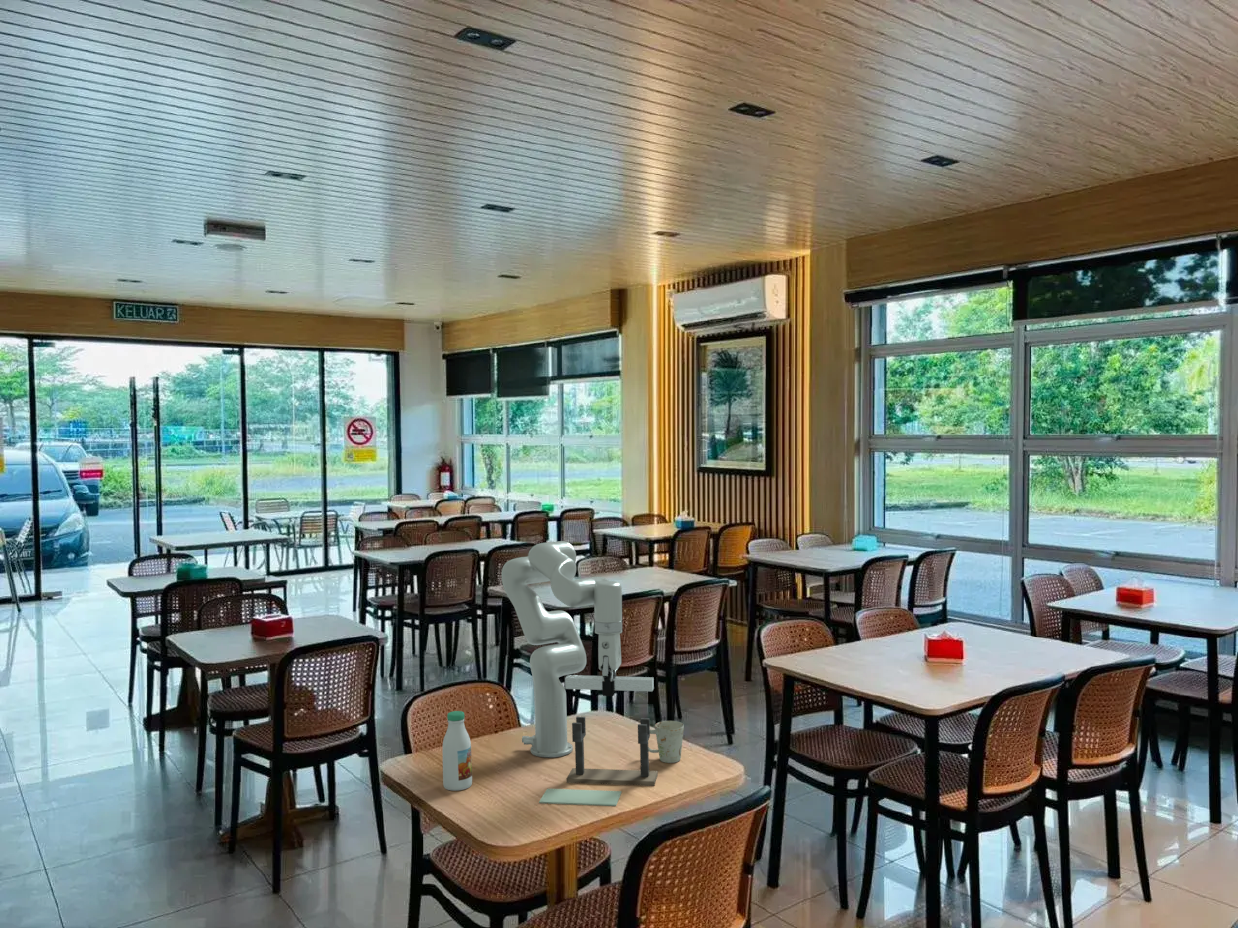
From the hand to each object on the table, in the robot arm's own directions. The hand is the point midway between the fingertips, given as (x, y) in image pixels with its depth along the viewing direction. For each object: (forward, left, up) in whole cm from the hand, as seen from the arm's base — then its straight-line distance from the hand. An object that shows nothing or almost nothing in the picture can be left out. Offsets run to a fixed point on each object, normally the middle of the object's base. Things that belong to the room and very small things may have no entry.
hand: (609, 692), depth 251 cm
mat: (-6, -14, -24) cm, 28 cm away
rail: (0, 0, +1) cm, 1 cm away
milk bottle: (-41, -9, -24) cm, 48 cm away
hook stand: (0, 0, -24) cm, 24 cm away
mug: (+12, +17, -24) cm, 32 cm away
